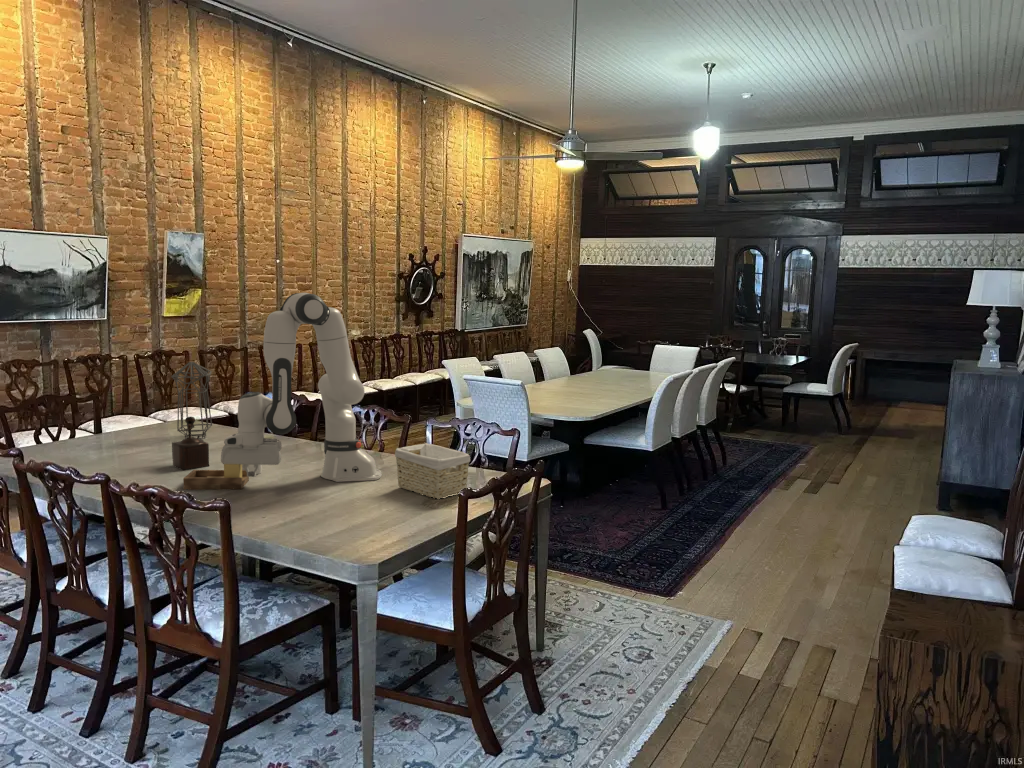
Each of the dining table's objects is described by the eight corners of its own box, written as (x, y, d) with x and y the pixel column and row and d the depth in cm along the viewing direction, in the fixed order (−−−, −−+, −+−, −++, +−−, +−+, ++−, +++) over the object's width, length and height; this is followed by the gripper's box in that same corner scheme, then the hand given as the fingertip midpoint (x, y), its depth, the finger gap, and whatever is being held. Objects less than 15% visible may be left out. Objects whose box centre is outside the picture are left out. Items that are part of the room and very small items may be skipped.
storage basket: (471, 493, 269) (472, 453, 267) (437, 502, 257) (438, 459, 255) (426, 480, 285) (427, 442, 283) (392, 488, 273) (393, 448, 271)
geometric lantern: (210, 440, 341) (207, 363, 336) (173, 442, 338) (169, 364, 333) (216, 433, 357) (212, 359, 351) (180, 434, 353) (176, 360, 348)
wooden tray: (248, 480, 276) (248, 470, 276) (241, 489, 264) (241, 478, 264) (193, 480, 274) (193, 469, 273) (183, 489, 262) (183, 478, 262)
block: (242, 477, 272) (242, 461, 272) (238, 481, 267) (238, 464, 267) (227, 477, 272) (227, 461, 271) (224, 481, 267) (223, 464, 266)
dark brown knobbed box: (211, 466, 296) (210, 420, 293) (183, 470, 288) (182, 423, 285) (194, 459, 306) (193, 415, 304) (166, 463, 298) (165, 418, 296)
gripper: (283, 436, 273) (283, 474, 275) (223, 436, 270) (224, 474, 272) (279, 440, 267) (279, 478, 268) (219, 439, 264) (219, 478, 266)
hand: (251, 476), depth 270 cm, fingers closed
